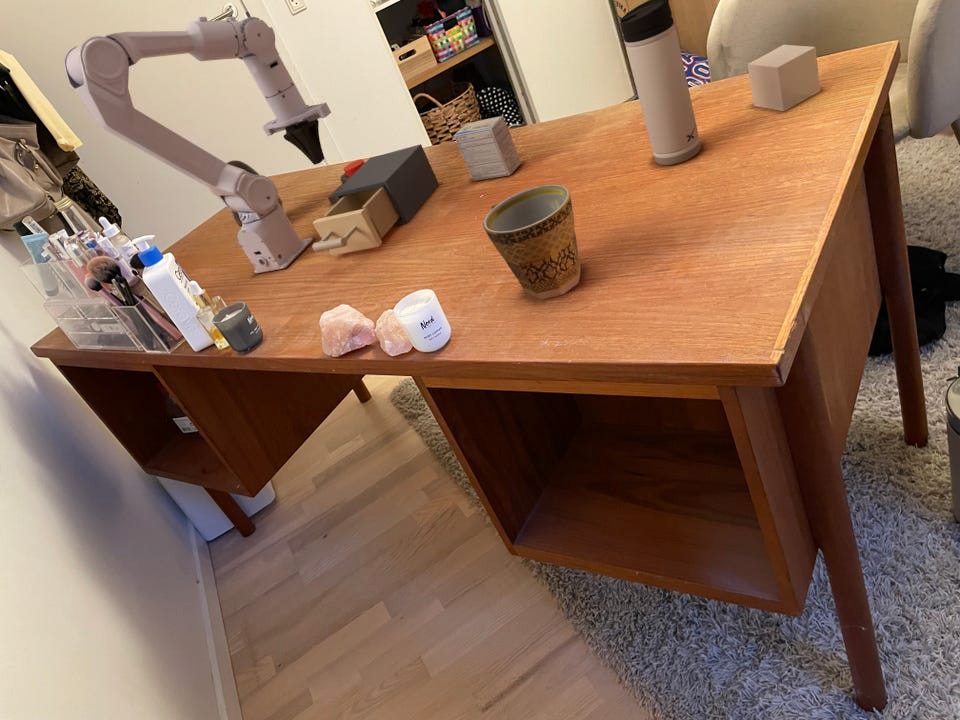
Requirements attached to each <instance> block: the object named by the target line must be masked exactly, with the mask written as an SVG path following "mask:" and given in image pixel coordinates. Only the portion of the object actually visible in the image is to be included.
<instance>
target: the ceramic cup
mask: <svg viewBox="0 0 960 720" xmlns="http://www.w3.org/2000/svg"><path fill="white" fill-rule="evenodd" d="M482 225H483V229H484V231H485V233H486V235H487V237H488V238H489V240H490V241H491V243H492V244H493V246H494V248H495V249H496V250H497V252H498V253H499V255H500V256H501V257H502V258H503V260H504V261H505V263H506V265H507V266H508V268H509V269H510V271H511V272H512V274H513V275H514V276H515V277H516V280H517V281H518V282H519V284H520V286H521V288H522V289H523V290H524V291H525V293H526V294H528V295H529V296H532V297H534V298H536V299H538V300H545V299H549V298H555V297H560V296H562V295H564V294H566V293H567V292H569V291H571V289H573V288H574V287H575V286H577V285H578V284H579V282H580V278H581V270H582V269H581V261H580V255H579V249H578V242H577V235H576V231H575V229H576V228H575V215H574V209H573V202H572V198H571V193H570V191H569V189H568V188H566V187H565V186H563V185H559V184H546V185H539V186H534V187H532V188H531V187H530V188H528V189H525V190H522V191H520V192H517V193H515V194H512V195H511V196H509V197H507V198H506V199H504V200H502V201H500V202H499V203H495V204H493V205H492V206H491V207H490V211H489V212H488V213H487V214H486V216H485V217H484V219H483V223H482Z"/></svg>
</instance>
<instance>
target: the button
mask: <svg viewBox="0 0 960 720" xmlns="http://www.w3.org/2000/svg"><path fill="white" fill-rule="evenodd" d="M365 162H366V161H364V159H356V160H354V161H353V162H350V163H349V164H347V165H346V166H345V167H343V171H344V173H346V175H347V177H351V176H352V175H353V174H354V173H355V172H356V171H357V170H359V169H360V168H361V167H362V166H363V165H364V164H365Z"/></svg>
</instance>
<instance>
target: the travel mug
mask: <svg viewBox="0 0 960 720" xmlns="http://www.w3.org/2000/svg"><path fill="white" fill-rule="evenodd" d="M672 15H673V13H672V9H671V6H670V2H669V0H646V1H645V2H643V3H641V4H638V5H637V6H636V7H634V8H632V9H630V10H629V11H628V12H627V13H626V14H624V15H623V16H622V17H621V19H620V23H619V24H620V29H621V32H622V34H623V36H622V37H623V42H624V45H625V49H626V53H627V58H628V62H629V66H630V70H631V74H632V78H633V81H634V85H635V89H636V92H637V96H638V100H639V104H640V108H641V112H642V115H643V119H644V124H645V127H646V131H647V135H648V139H649V144H650V147H651V151H652V154H653V159H654V162H655V163H656V164H658V165H661V166H673V165H677V164H681V163H683V162H687V161H689V160H691V159H692V158H693V157H695V156H696V155H697V154H698V153H699V152H700V151H701V149H702V145H701V139H700V137H699V131H698V125H697V121H696V116H695V112H694V108H693V103H692V99H691V98H692V97H691V94H690V88H689V85H688V79H687V75H686V70H685V66H684V62H683V55H682V51H681V46H680V43H679V37H678V34H677V29H676V28H675V27H676V24H675V22H674V17H673V16H672Z"/></svg>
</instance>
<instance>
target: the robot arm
mask: <svg viewBox="0 0 960 720" xmlns="http://www.w3.org/2000/svg"><path fill="white" fill-rule="evenodd" d="M185 54H186V55H187V54H189V55H190V56H192V58H194V59H196V60H197V61H199V62H208V61H209V62H210V61H219V60H222V61H223V60H232V59H233V60H234V59H235V60H236V59H239V60H240V61H243V62H244V64H245V66H246V67H247V69H248V71H249V73H250V74H251V77H252V78H253V80H254V82H255V83H256V85H257V87H258V88H259V90H260V92H261V94H262V95H263V97H264V99H265V100H266V102H267V104H268V106H269V108H270V109H271V111H272V113H273V115H274V116H275V119H273V120H271V121H268V122H266V123H265V124H264V125H262V129H263V131H264V133H265V135H266V136H267V137H270V136H273V134H276V133H279V132H282V131H285V133H284V134H283V139H284V140H285V141H287V142H288V143H290V144H292V145H293V146H295V147H296V148H297V150H299V151H300V152H301V153H303V155H304V156H305V157H306V158H307V159H308V160H309V161H310V162H311V163H312V164H313V165H314V166H315V165H318V164H321V163H322V162H323V161H324V160H325V154H324V151H323V148H322V144H321V139H320V128H319V127H320V126H319V125H320V124H319V119H325V118H327V117H328V116H329V115H330V114H332V111H331V109H330V107H329V105H328V103H327V102H322V103H317V104H313V105H309V104H307V103H306V102H305V100H304V98H303V96H302V95H301V93H300V91H299V89H298V88H297V86H296V84H295V82H294V80H293V79H292V76H291V74H290V73H289V71H288V69H287V67H286V65H285V64H284V61H283V60H282V58H281V56H280V53H279V51H278V50H277V46H276V33H275V30H274V28H273V27H270V26H269V25H268V23H267V22H266V21H264V20H263V19H260V17H256V16H249V17H247V18H244V19H242V20H240V21H238V20H237V19H236V17H235V16H227V17H226V18H225V19H223V20H222V19H221V20H208V17H207V16H199V17H198V16H197V17H196V18H195V21H191V22H189V24H188V25H187V27H186V28H185V30H170V31H169V30H168V31H167V30H166V31H165V30H164V31H163V30H162V31H161V30H159V31H158V30H157V31H155V30H154V31H153V30H152V31H120V32H113V33H109V34H106V35H105V36H102V35H94V36H91V37H89V38H87V39H85V40H84V41H83V42H82V43H81V44H80V45H77V46H74V47H72V48H70V49H69V50H68V51H67V52H66V53H65V56H64V59H63V66H64V72H65V76H66V79H67V83H68V86H69V88H70V89H71V90H72V91H73V92H74V93H75V94H76V95H78V97H79V98H80V100H81V101H82V102H83V104H84V105H85V107H86V109H87V110H88V111H89V112H90V114H91V115H92V117H93V119H94V120H95V121H96V123H97V124H98V125H99V126H100V127H101V128H102V129H103V130H105V131H107V132H108V133H110V134H111V135H114V136H116V137H117V138H119V139H121V140H123V141H124V142H126V143H128V144H130V145H132V147H133V146H134V147H135V148H136V149H138V150H140V151H142V152H144V153H146V154H148V155H150V156H151V157H152V158H155V159H157V160H159V161H160V162H162V163H164V164H165V165H167V166H169V167H171V168H173V169H175V170H176V171H178V172H180V173H182V174H184V175H185V176H187V177H189V178H190V179H192V180H194V181H196V182H198V183H199V184H201V185H203V186H205V187H207V188H208V189H209V190H210V192H211V193H212V195H214V196H216V197H217V198H219V199H220V200H221V201H222V202H223V204H224V205H225V206H226V208H227V209H228V210H229V211H230V210H232V211H234V212H238V214H239V217H240V220H241V221H242V222H243V224H242V227H240V230H239V231H238V233H237V236H236V237H237V242H238V244H239V246H240V248H241V249H242V251H243V252H244V254H245V256H246V257H247V259H248V260H249V261H250V263H251V264H252V266H253V267H254V270H253V272H254V274H259V273H260V274H261V273H265V272H271V271H276V270H283V269H286V268H288V267H289V265H290V264H291V263H292V262H293V261H294V260H295V259H296V258H297V257H298V256H299V255H300V254H301V253H302V252H303V251H304V250H305V249H306V248H307V247H308V246H309V245H310V244H311V243H312V242H313V241H314V239H313V238H312V237H309V238H304V239H301V237H300V235H299V233H298V232H297V230H296V229H295V227H294V225H293V223H292V222H291V221H290V219H289V217H288V215H287V214H286V212H285V209H284V210H283V209H282V207H281V205H280V204H279V203H278V201H277V200H278V195H279V192H278V189H277V186H276V184H275V182H274V181H273V180H272V179H271V178H269V177H268V176H267V175H263V174H260V175H254V174H251V173H249V172H247V171H246V170H244V169H241V168H238V167H235V166H232V165H229V164H227V162H225V161H224V160H222V159H220V158H219V157H217V156H215V155H213V154H211V153H210V152H208V151H207V150H205V149H203V148H202V147H201V146H198V145H197V144H195V143H193V142H192V141H190V140H188V139H187V138H185V137H183V136H182V135H180V134H178V133H176V132H175V131H173V130H172V129H170V128H168V127H167V126H166V125H163V124H162V123H160V122H159V121H157V120H154V119H153V118H151V117H150V116H148V115H146V114H145V113H143V112H142V111H140V110H138V109H137V108H135V107H134V104H133V100H132V97H131V93H130V89H129V78H130V76H129V75H130V67H132V66H134V65H136V64H137V63H138V62H139V61H141V60H142V59H149V58H150V59H151V58H159V57H167V56H176V55H177V56H178V55H185Z"/></svg>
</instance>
